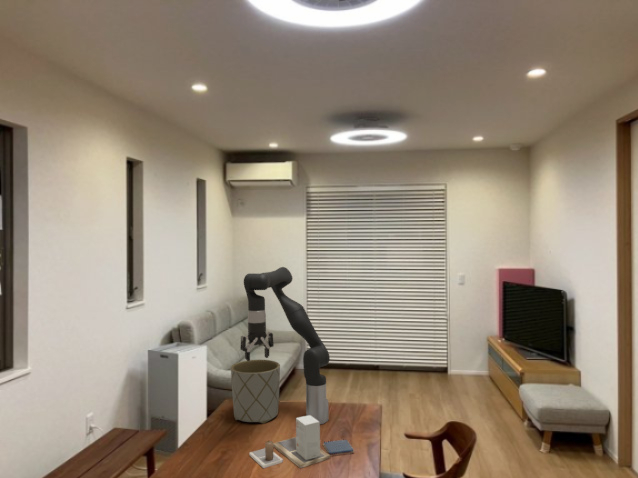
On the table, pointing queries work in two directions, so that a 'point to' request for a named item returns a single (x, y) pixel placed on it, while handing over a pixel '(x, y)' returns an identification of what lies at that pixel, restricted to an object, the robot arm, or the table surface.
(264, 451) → the plate
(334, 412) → the table surface
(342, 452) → the woven mat
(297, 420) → the small box
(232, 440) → the table surface
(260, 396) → the planter
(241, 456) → the table surface
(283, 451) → the board
